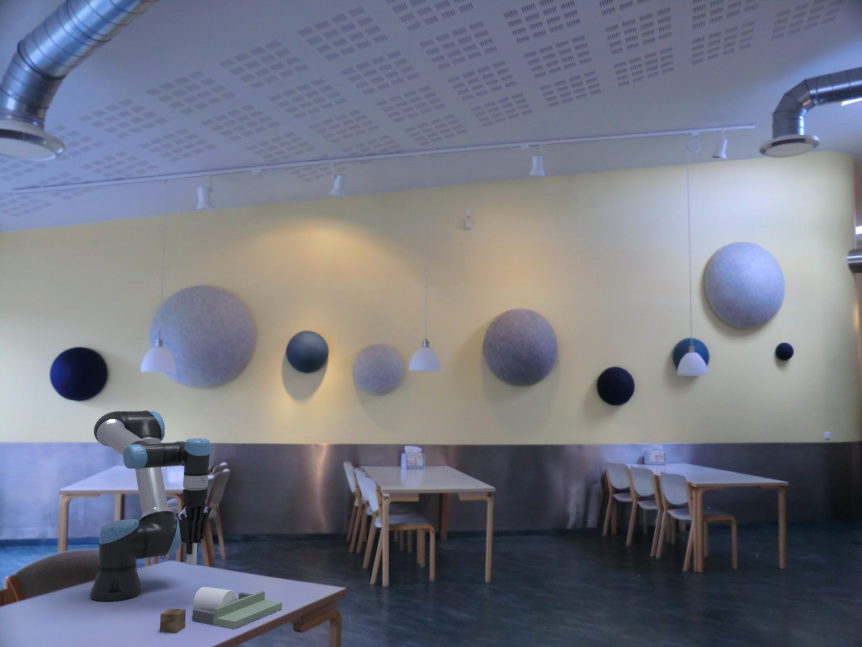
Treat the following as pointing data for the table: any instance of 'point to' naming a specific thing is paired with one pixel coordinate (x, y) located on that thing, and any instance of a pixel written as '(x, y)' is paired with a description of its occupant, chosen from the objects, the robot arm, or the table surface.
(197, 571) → the table surface
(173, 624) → the walnut block
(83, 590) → the table surface
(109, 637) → the table surface
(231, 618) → the green holder tray
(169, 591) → the table surface
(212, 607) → the mug
